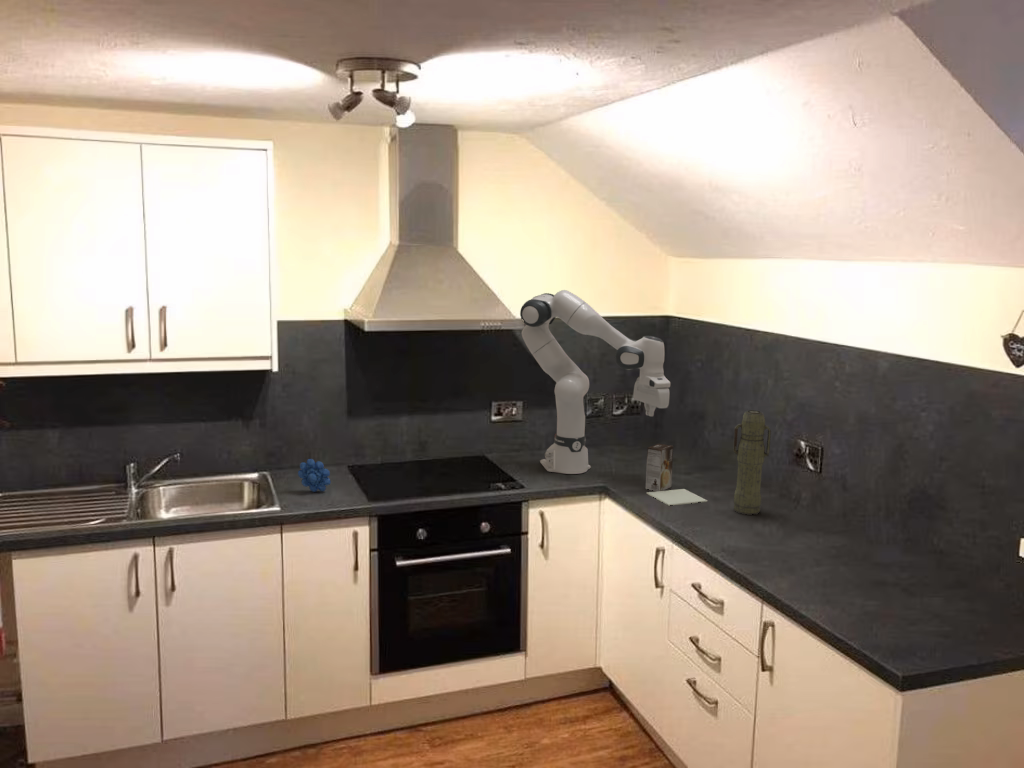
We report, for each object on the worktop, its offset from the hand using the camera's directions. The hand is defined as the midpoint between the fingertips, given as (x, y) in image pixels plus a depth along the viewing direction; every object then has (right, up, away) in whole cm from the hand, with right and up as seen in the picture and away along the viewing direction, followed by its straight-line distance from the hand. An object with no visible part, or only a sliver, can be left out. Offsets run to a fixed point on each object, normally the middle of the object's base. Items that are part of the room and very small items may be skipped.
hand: (649, 415), depth 326 cm
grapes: (-122, -27, -21) cm, 127 cm away
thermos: (+29, -32, -28) cm, 52 cm away
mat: (+7, -29, -15) cm, 34 cm away
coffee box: (+3, -27, -4) cm, 28 cm away
